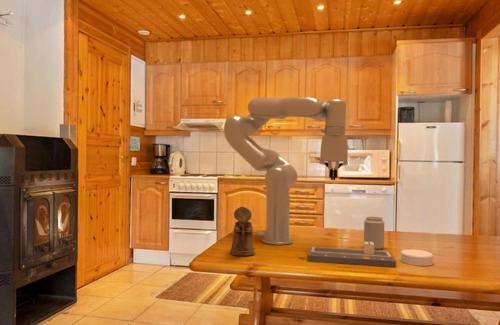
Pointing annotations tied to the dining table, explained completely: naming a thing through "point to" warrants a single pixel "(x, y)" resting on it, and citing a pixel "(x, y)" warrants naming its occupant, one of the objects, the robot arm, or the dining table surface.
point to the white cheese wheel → (417, 257)
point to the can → (374, 231)
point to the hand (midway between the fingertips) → (333, 179)
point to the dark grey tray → (350, 257)
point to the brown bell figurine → (242, 234)
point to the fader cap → (368, 248)
